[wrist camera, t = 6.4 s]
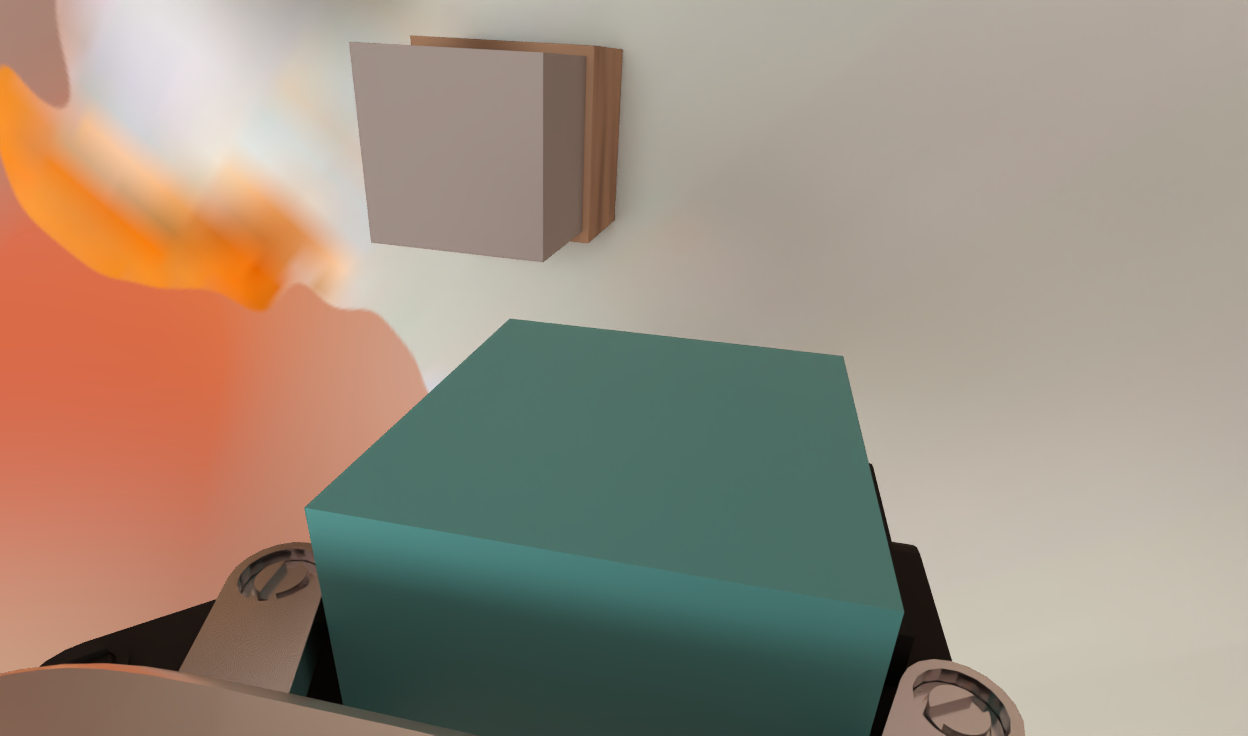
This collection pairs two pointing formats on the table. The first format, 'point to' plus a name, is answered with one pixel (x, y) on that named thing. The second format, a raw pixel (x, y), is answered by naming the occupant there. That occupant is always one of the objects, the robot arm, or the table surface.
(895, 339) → the table surface
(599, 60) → the tower base
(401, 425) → the teal cube
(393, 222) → the tower mid
